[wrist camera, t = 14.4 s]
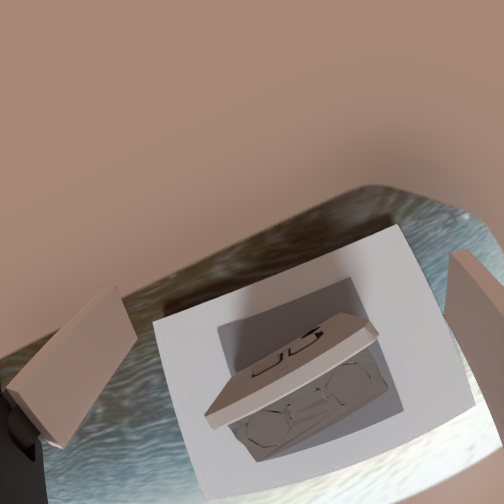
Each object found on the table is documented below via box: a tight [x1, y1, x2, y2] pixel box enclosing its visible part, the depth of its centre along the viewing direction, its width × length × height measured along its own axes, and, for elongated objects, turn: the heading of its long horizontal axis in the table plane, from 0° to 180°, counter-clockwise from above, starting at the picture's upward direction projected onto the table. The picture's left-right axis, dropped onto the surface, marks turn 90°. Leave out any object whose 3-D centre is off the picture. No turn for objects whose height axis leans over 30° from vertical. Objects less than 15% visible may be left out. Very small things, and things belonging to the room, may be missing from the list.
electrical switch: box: [204, 312, 389, 462], centre depth 18 cm, size 9×5×9 cm, turn 119°
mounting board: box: [153, 224, 476, 500], centre depth 23 cm, size 22×16×2 cm
